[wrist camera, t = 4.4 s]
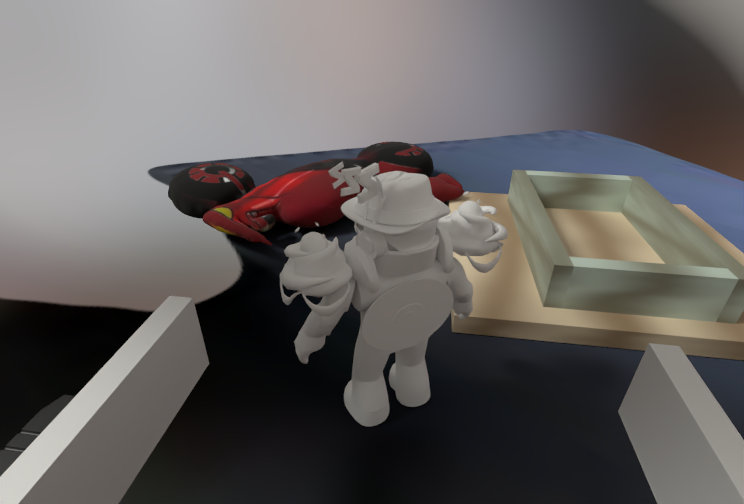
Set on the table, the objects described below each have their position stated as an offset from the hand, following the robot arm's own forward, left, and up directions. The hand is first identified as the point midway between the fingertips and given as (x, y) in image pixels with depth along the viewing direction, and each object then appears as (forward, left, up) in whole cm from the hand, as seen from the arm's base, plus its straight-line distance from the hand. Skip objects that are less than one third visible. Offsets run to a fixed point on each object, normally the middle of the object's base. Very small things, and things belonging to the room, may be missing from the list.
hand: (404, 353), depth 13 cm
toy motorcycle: (-9, +24, -7) cm, 27 cm away
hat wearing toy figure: (-1, +4, -7) cm, 8 cm away
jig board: (+12, +18, -7) cm, 23 cm away
